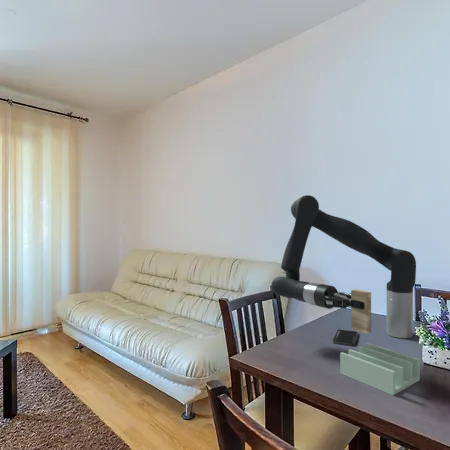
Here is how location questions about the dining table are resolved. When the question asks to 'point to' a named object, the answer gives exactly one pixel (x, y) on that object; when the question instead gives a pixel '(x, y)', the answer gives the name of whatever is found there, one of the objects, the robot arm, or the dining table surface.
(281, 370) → the dining table surface
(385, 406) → the dining table surface
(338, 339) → the phone
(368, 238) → the robot arm
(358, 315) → the tan wooden block
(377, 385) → the slotted rack
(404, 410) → the dining table surface
